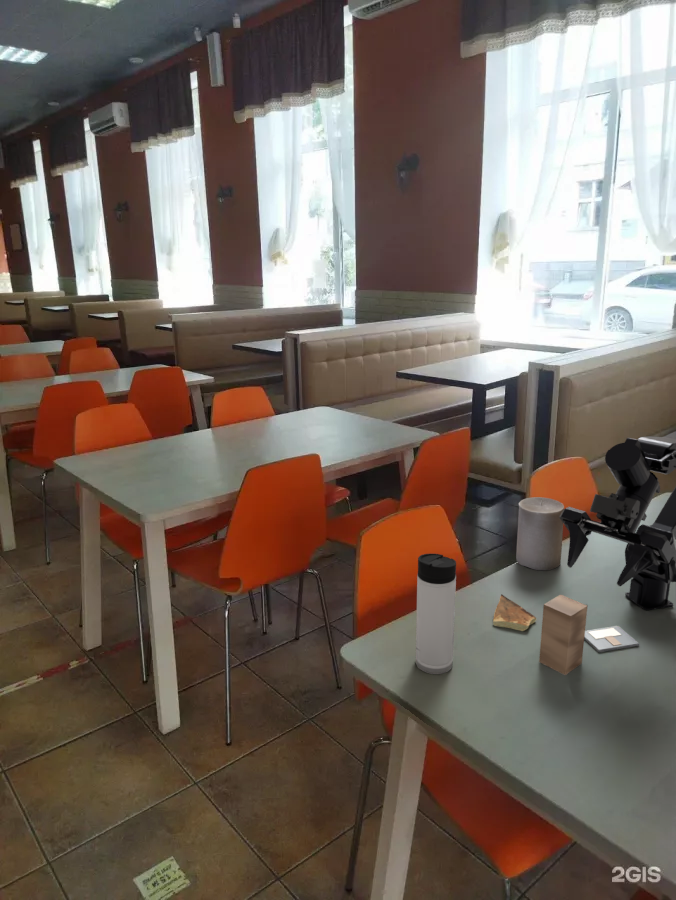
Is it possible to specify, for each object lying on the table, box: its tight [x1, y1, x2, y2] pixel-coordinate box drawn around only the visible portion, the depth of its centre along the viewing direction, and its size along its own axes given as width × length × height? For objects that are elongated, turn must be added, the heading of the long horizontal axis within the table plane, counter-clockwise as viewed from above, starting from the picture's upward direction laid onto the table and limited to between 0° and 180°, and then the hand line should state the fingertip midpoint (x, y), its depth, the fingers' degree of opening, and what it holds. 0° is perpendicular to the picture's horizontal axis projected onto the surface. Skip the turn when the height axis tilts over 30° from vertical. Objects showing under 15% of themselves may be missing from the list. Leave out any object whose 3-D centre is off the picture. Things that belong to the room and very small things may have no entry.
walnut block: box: [538, 594, 588, 676], centre depth 111 cm, size 5×5×11 cm
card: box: [584, 625, 640, 653], centre depth 119 cm, size 8×6×1 cm
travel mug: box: [415, 553, 457, 675], centre depth 110 cm, size 6×7×20 cm
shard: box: [492, 594, 537, 632], centre depth 128 cm, size 11×8×2 cm
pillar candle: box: [515, 496, 565, 571], centre depth 148 cm, size 10×10×15 cm
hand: (592, 575), depth 114 cm, fingers open, 9 cm apart
